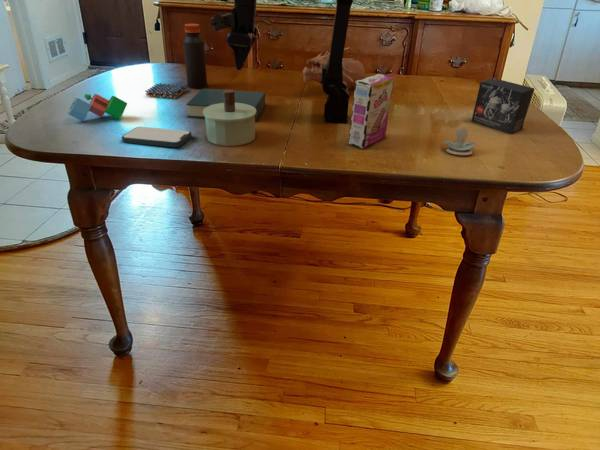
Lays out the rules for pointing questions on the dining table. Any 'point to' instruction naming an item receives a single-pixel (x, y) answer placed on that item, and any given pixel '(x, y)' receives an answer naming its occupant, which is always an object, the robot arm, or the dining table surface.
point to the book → (216, 96)
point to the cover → (229, 109)
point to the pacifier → (460, 143)
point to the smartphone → (157, 136)
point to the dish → (230, 132)
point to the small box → (502, 105)
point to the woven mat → (166, 90)
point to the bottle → (194, 57)
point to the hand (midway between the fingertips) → (240, 65)
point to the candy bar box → (370, 110)
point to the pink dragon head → (350, 68)
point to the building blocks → (97, 107)
